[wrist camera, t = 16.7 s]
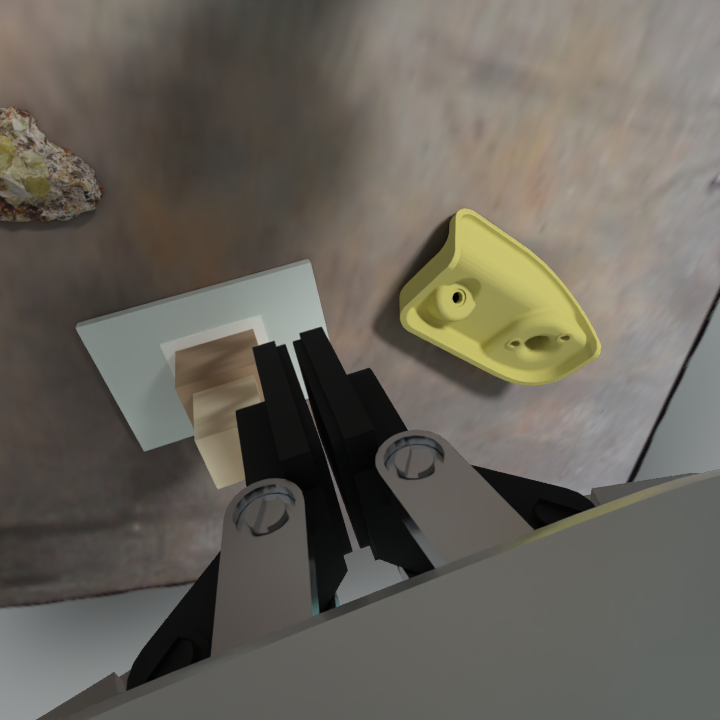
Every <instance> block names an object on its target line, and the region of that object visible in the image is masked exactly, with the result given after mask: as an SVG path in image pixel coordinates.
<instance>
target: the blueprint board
mask: <svg viewBox="0 0 720 720" xmlns="http://www.w3.org/2000/svg"><path fill="white" fill-rule="evenodd" d="M318 327H322V328H323V330H324V332H325V334H326V336H327V338H328V340H329V337H328V333H327V329H326V325H325V320H324V316H323V312H322V308H321V304H320V300H319V295H318V291H317V287H316V283H315V279H314V274H313V270H312V266H311V262H310V261H309V259H305V260H302V261H298V262H294V263H291V264H287V265H284V266H280V267H276V268H273V269H269V270H266V271H262V272H258V273H255V274H251V275H248V276H244V277H240V278H237V279H233V280H230V281H226V282H222V283H219V284H215V285H212V286H208V287H204V288H201V289H197V290H194V291H190V292H187V293H183V294H179V295H176V296H172V297H169V298H165V299H161V300H158V301H154V302H151V303H147V304H143V305H140V306H136V307H133V308H129V309H125V310H122V311H118V312H115V313H111V314H107V315H104V316H100V317H97V318H93V319H89V320H86V321H82V322H79V323H77V325H76V330H77V332H78V334H79V336H80V337H81V339H82V341H83V343H84V345H85V346H86V348H87V350H88V352H89V354H90V355H91V357H92V359H93V361H94V363H95V364H96V366H97V368H98V370H99V371H100V373H101V375H102V377H103V379H104V380H105V382H106V384H107V386H108V388H109V389H110V391H111V393H112V395H113V397H114V398H115V400H116V402H117V404H118V406H119V407H120V409H121V411H122V413H123V415H124V416H125V418H126V420H127V422H128V423H129V425H130V427H131V429H132V431H133V432H134V434H135V436H136V438H137V440H138V441H139V443H140V445H141V447H142V449H143V450H144V452H145V451H148V450H151V449H154V448H157V447H160V446H163V445H167V444H170V443H173V442H176V441H179V440H182V439H185V438H188V437H191V436H194V428H193V426H192V424H191V422H190V420H189V417H188V415H187V413H186V411H185V409H184V407H183V405H182V402H181V400H180V398H179V396H178V394H177V392H176V390H175V352H176V351H179V350H182V349H186V348H189V347H192V346H196V345H199V344H203V343H206V342H209V341H213V340H216V339H220V338H223V337H226V336H230V335H233V334H236V333H240V332H243V331H247V330H250V329H253V330H254V333H255V336H256V339H257V342H258V345H261V344H265V343H268V342H271V341H275V343H276V346H279V345H283V344H286V347H287V350H288V353H289V355H290V358H291V361H292V364H293V366H294V369H295V372H296V375H297V378H298V380H299V383H300V386H301V389H302V391H303V394H304V397H305V400H306V399H309V398H308V395H307V391H306V388H305V384H304V381H303V377H302V374H301V370H300V367H299V364H298V360H297V357H296V353H295V350H294V346H293V342H292V341H296V340H299V339H300V335H299V333H301V332H305V331H308V330H311V329H314V328H318ZM329 342H330V341H329Z"/></svg>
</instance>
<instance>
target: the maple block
mask: <svg viewBox="0 0 720 720" xmlns="http://www.w3.org/2000/svg"><path fill="white" fill-rule="evenodd" d="M260 402H263V399H262V396H261V394H260V391H259V388H258V385H257V382H256V380H255V377H254V375H252V376H249V377H245V378H242V379H239V380H236V381H233V382H229V383H226V384H223V385H220V386H216V387H213V388H210V389H207V390H204V391H200V392H197V393H194V394H193V414H194V439H195V443H196V445H197V447H198V449H199V451H200V453H201V455H202V458H203V460H204V462H205V464H206V466H207V468H208V470H209V472H210V474H211V476H212V479H213V481H214V483H215V485H216V487H217V489H220V488H223V487H226V486H229V485H232V484H234V483H237V482H240V481H243V480H246V479H245V473H244V466H243V460H242V453H241V447H240V440H239V434H238V427H237V421H236V413H235V411H236V410H238V409H241V408H244V407H248V406H251V405H254V404H257V403H260Z"/></svg>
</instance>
